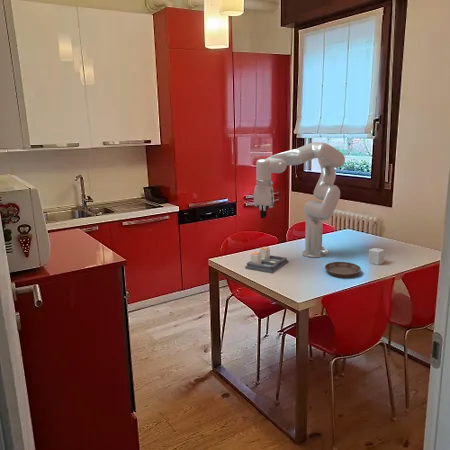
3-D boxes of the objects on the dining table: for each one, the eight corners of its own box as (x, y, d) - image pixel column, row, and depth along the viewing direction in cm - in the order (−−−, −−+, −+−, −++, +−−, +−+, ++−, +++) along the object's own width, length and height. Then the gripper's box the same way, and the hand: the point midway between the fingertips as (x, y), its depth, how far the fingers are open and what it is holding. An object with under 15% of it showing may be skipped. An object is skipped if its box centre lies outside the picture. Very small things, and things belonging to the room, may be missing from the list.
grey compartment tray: (288, 262, 239) (288, 257, 238) (272, 273, 222) (271, 267, 222) (262, 258, 247) (262, 253, 246) (245, 268, 231) (245, 263, 230)
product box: (384, 262, 233) (385, 249, 231) (378, 265, 229) (379, 252, 227) (374, 260, 237) (374, 247, 236) (368, 262, 233) (368, 249, 232)
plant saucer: (361, 280, 210) (361, 274, 209) (323, 277, 215) (323, 272, 214) (360, 268, 226) (360, 262, 226) (325, 266, 231) (325, 260, 230)
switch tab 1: (261, 263, 233) (261, 252, 232) (257, 266, 230) (257, 254, 228) (255, 262, 235) (254, 251, 234) (250, 264, 232) (250, 253, 230)
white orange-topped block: (270, 258, 241) (269, 247, 240) (266, 260, 238) (266, 249, 236) (263, 257, 244) (263, 246, 242) (259, 259, 240) (259, 248, 238)
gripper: (279, 183, 223) (279, 217, 228) (254, 181, 231) (254, 215, 235) (273, 185, 217) (273, 220, 221) (247, 183, 225) (247, 217, 229)
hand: (263, 217), depth 228 cm, fingers closed
